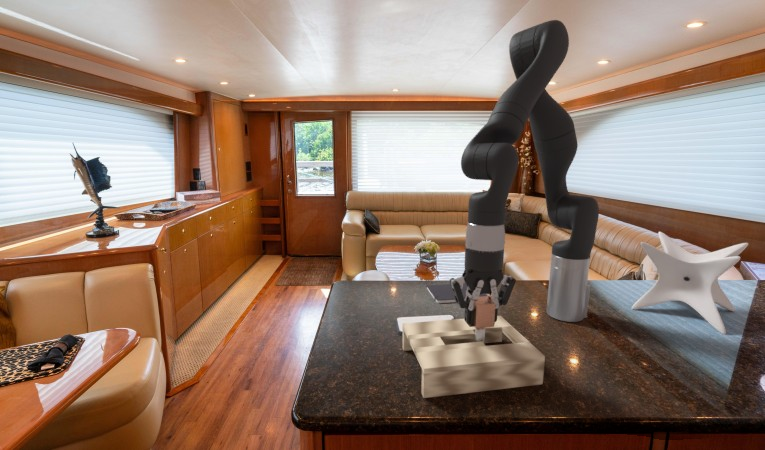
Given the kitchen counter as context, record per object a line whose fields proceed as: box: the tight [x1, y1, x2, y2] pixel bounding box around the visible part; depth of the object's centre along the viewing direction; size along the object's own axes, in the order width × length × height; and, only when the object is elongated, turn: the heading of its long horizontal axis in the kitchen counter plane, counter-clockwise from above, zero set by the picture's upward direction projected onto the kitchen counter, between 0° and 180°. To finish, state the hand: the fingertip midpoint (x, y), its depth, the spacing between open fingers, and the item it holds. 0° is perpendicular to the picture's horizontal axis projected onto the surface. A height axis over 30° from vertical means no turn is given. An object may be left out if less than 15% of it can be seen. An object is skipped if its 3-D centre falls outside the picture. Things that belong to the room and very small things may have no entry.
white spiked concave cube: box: [631, 231, 749, 335], centre depth 102 cm, size 20×20×20 cm
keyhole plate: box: [401, 315, 546, 399], centre depth 77 cm, size 24×18×6 cm
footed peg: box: [473, 296, 495, 344], centre depth 77 cm, size 5×5×14 cm
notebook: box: [425, 282, 499, 304], centre depth 117 cm, size 13×2×21 cm
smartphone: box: [394, 314, 456, 337], centre depth 95 cm, size 9×2×16 cm
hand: (480, 323), depth 76 cm, fingers closed on footed peg, 4 cm apart
